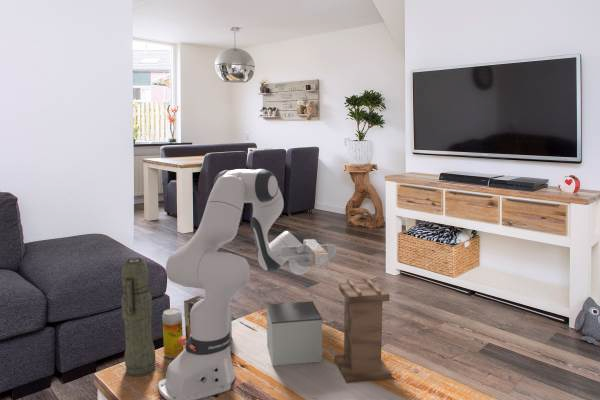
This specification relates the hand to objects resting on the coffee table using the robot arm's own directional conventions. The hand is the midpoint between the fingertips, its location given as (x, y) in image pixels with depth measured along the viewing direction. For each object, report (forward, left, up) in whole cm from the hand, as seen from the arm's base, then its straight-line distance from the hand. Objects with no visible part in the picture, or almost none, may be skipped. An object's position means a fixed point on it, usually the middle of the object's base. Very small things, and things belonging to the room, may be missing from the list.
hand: (311, 246), depth 163 cm
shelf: (-12, -5, -33) cm, 36 cm away
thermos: (-55, +18, -33) cm, 67 cm away
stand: (-3, -27, -33) cm, 43 cm away
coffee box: (-33, +20, -33) cm, 51 cm away
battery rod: (-3, -5, -2) cm, 6 cm away
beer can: (-43, +20, -33) cm, 58 cm away
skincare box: (-24, +21, -33) cm, 46 cm away
